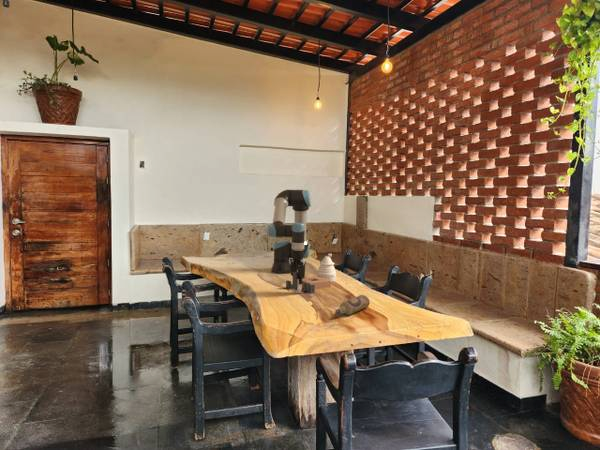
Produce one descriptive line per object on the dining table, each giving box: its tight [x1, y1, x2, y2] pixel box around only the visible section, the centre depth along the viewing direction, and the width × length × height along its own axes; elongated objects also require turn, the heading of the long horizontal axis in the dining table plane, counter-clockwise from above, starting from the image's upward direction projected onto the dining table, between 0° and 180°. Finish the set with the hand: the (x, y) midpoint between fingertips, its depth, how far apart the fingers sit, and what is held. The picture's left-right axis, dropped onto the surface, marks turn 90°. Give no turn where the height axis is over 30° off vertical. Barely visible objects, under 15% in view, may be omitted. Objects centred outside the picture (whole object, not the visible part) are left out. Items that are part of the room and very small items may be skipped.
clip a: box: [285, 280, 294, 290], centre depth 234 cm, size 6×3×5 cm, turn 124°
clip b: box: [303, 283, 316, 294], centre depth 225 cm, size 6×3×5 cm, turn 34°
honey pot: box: [316, 253, 337, 283], centre depth 258 cm, size 13×13×18 cm
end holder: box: [302, 275, 332, 290], centre depth 241 cm, size 16×16×4 cm
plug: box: [292, 270, 302, 294], centre depth 222 cm, size 4×4×12 cm
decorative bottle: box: [334, 294, 371, 316], centre depth 187 cm, size 8×26×7 cm, turn 139°
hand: (297, 288), depth 222 cm, fingers closed on plug, 4 cm apart
